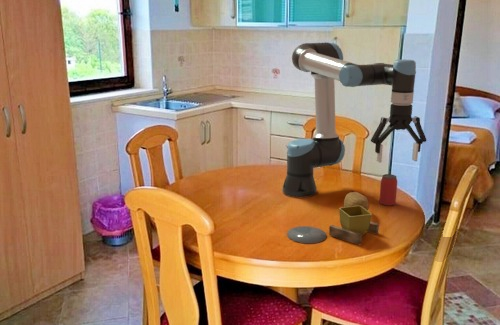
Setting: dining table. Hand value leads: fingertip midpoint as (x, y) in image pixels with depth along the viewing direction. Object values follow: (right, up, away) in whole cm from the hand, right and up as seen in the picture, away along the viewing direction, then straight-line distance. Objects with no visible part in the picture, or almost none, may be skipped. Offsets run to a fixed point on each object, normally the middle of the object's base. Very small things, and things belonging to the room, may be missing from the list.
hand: (396, 161), depth 183 cm
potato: (-13, -21, +13) cm, 28 cm away
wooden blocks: (-17, -26, -6) cm, 32 cm away
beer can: (+3, -18, +24) cm, 30 cm away
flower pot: (-17, -26, -6) cm, 32 cm away
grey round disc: (-34, -26, -7) cm, 44 cm away
